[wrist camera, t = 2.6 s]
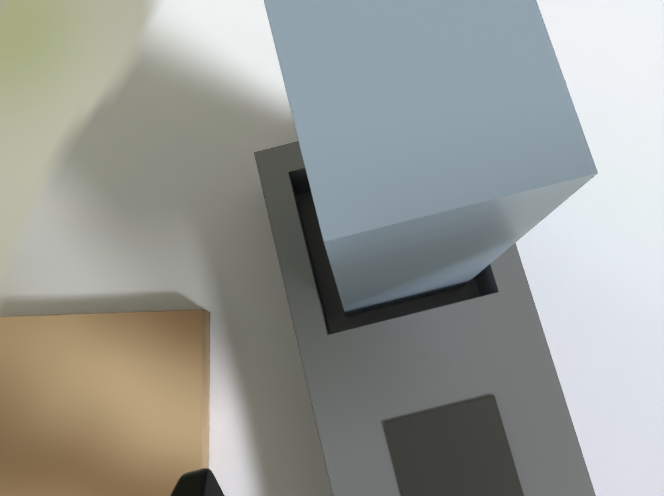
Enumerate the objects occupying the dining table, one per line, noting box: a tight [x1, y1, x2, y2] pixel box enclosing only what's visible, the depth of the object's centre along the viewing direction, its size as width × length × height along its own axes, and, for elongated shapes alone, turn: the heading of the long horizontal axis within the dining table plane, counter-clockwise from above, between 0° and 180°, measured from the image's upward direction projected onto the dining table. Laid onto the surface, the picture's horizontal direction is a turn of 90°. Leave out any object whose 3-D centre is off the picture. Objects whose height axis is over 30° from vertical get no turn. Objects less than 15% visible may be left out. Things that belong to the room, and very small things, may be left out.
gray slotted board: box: [254, 141, 596, 496], centre depth 18 cm, size 18×7×4 cm, turn 14°
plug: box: [264, 0, 598, 317], centre depth 15 cm, size 4×4×12 cm
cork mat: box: [0, 310, 210, 496], centre depth 20 cm, size 11×11×1 cm
